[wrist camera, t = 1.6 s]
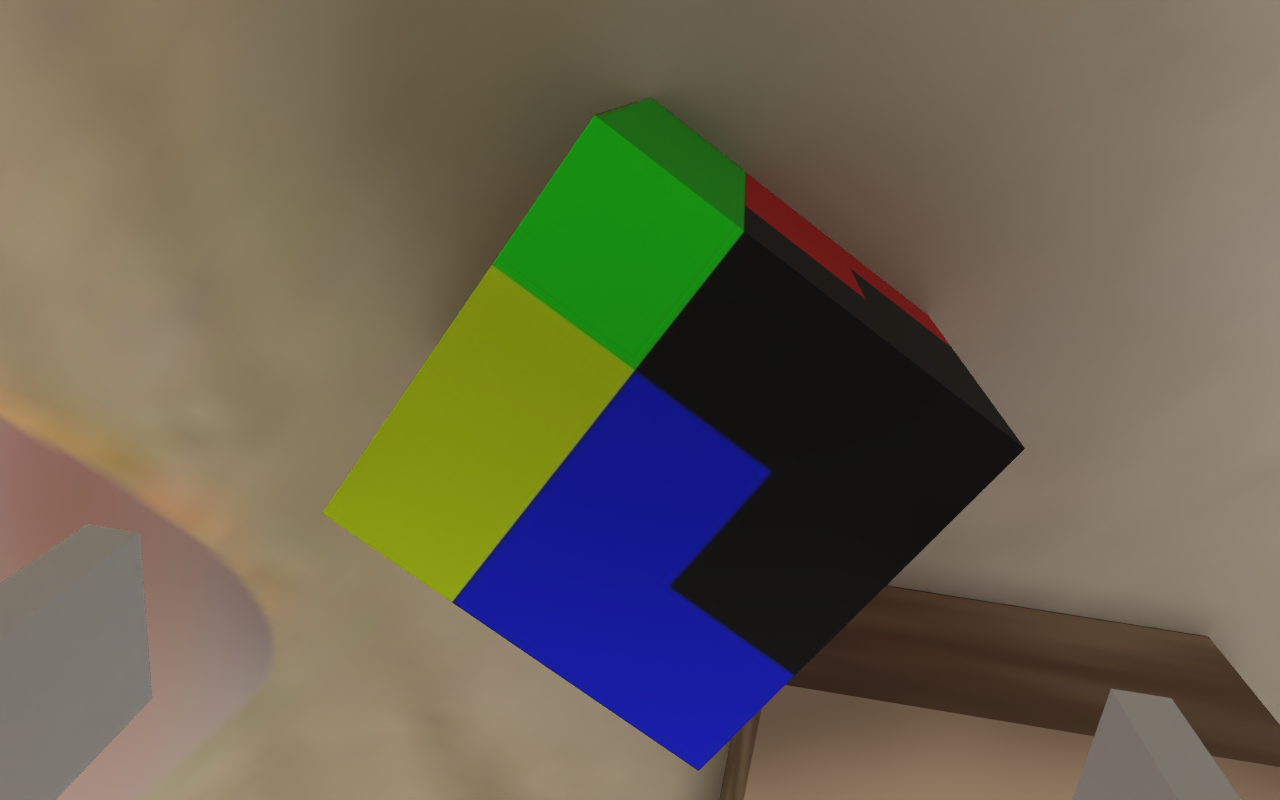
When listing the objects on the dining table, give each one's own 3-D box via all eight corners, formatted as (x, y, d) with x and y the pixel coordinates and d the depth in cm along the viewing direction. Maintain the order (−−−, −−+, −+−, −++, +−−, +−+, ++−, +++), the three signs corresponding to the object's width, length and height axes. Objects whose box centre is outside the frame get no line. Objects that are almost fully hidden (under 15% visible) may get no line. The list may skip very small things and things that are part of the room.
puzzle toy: (714, 551, 30) (698, 770, 21) (460, 368, 29) (322, 513, 20) (928, 315, 27) (1025, 448, 17) (650, 97, 26) (594, 114, 16)
